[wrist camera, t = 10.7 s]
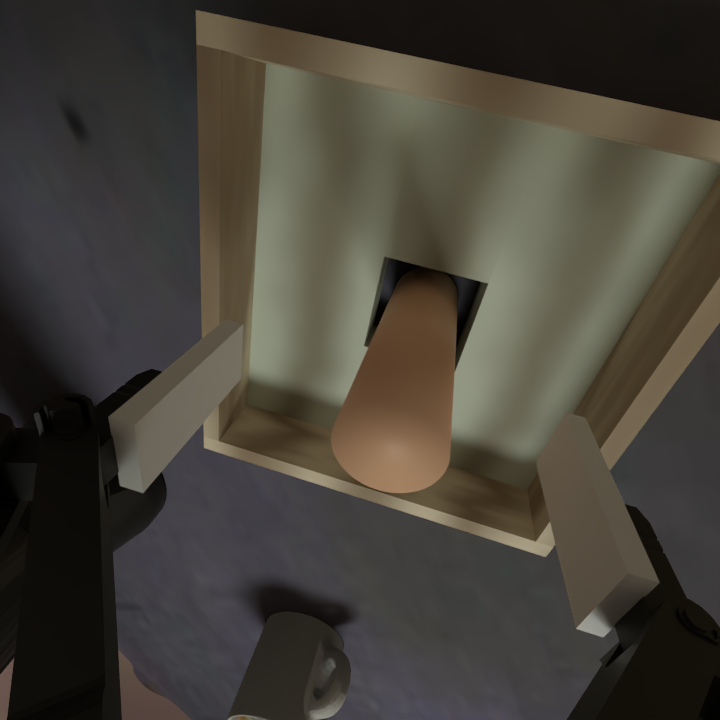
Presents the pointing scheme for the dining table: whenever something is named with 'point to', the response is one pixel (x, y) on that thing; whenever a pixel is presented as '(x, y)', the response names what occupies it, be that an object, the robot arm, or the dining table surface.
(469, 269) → the box
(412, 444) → the peg
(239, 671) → the dining table surface
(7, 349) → the dining table surface
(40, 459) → the robot arm
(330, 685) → the coffee mug
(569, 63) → the dining table surface
